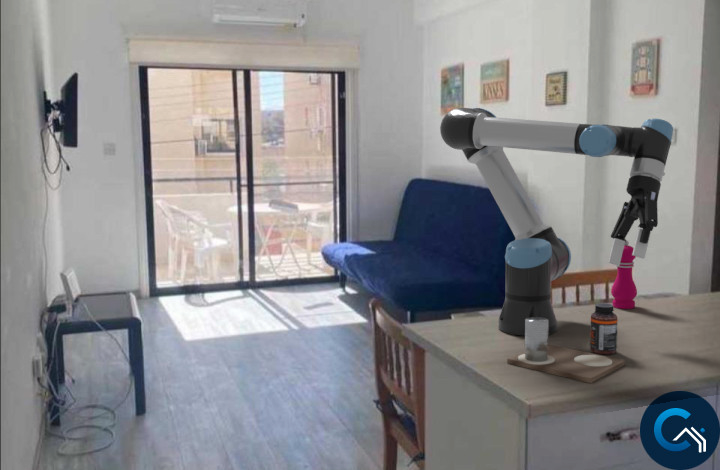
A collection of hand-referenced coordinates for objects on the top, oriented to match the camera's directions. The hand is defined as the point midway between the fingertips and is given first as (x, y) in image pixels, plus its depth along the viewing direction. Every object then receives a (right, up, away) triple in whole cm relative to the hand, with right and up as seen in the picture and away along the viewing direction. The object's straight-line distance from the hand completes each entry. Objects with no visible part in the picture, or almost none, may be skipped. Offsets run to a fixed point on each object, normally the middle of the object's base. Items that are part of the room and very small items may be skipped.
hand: (625, 260), depth 170 cm
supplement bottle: (-7, -21, -5) cm, 23 cm away
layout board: (-19, -23, -14) cm, 32 cm away
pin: (-25, -23, -13) cm, 36 cm away
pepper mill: (+14, -15, +38) cm, 43 cm away
